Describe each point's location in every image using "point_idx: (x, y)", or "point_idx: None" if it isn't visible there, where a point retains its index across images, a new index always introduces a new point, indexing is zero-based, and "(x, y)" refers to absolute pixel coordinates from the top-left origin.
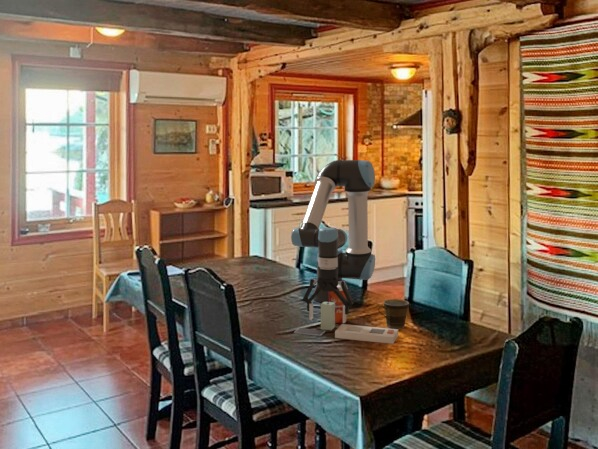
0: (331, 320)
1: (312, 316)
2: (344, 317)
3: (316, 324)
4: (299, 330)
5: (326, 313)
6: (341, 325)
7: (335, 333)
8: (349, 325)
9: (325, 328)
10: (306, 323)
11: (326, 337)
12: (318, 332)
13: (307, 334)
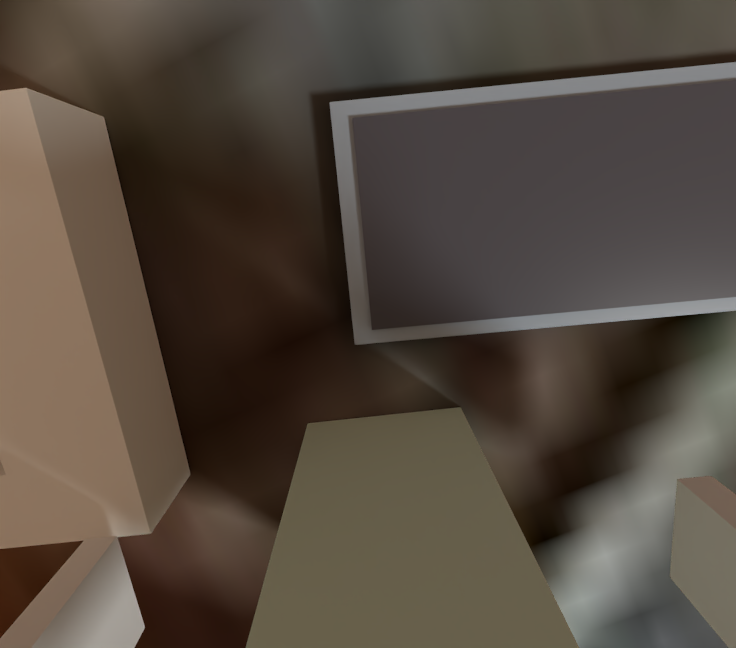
0: (289, 514)
1: (705, 580)
2: (5, 632)
3: (578, 556)
4: (730, 170)
5: (396, 621)
6: (117, 467)
7: (44, 97)
8: (7, 513)
9: (394, 422)
10: None
11: (228, 82)
12: (413, 201)
13: (554, 83)
